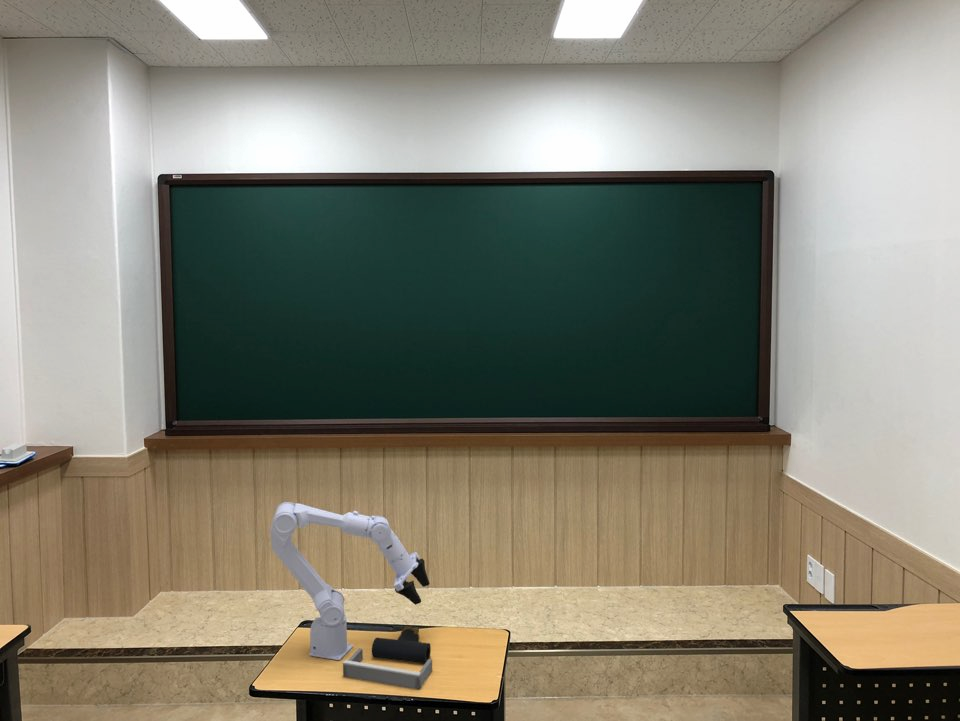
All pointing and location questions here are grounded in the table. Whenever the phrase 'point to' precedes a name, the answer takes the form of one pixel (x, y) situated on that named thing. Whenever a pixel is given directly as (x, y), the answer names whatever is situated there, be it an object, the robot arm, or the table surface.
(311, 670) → the table surface
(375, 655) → the pipe connector
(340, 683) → the table surface
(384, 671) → the bracket
